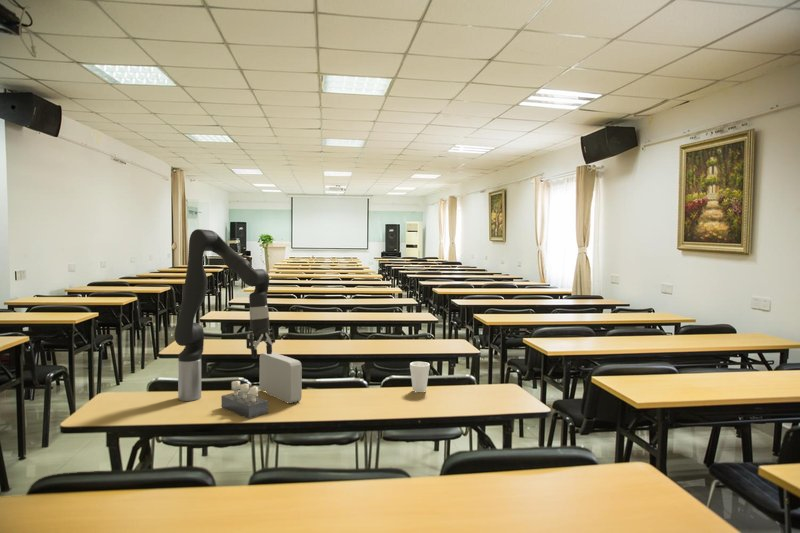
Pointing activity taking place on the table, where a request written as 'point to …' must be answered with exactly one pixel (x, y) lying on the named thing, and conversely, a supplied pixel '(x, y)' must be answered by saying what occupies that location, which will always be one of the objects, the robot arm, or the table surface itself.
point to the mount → (244, 405)
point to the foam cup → (419, 375)
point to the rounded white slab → (281, 377)
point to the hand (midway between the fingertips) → (262, 356)
